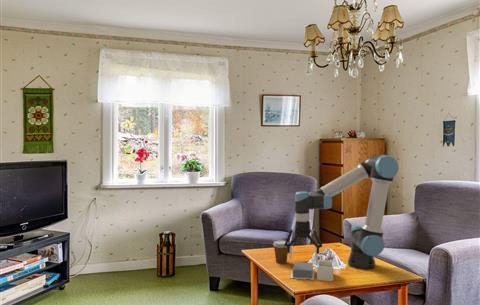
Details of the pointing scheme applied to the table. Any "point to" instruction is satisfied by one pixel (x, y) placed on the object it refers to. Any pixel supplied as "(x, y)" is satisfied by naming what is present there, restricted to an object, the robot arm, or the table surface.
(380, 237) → the robot arm
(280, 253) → the disposable coffee cup
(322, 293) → the table surface
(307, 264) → the lid
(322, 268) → the storage box
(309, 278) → the mat
